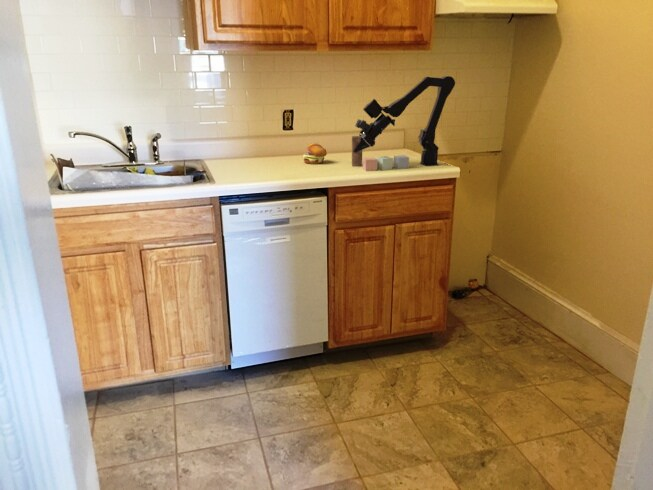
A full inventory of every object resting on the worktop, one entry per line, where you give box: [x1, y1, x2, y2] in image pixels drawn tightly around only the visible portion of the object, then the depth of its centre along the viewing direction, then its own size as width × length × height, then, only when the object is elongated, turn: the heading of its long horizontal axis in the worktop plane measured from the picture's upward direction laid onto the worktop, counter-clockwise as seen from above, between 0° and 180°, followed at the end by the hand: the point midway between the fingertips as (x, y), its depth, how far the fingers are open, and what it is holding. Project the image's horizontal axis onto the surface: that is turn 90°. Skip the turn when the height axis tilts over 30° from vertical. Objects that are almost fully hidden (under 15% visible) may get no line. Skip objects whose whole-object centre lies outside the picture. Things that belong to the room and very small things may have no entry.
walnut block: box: [351, 135, 363, 167], centre depth 248 cm, size 4×4×13 cm
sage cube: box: [376, 155, 394, 171], centre depth 242 cm, size 5×5×5 cm
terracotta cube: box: [362, 156, 378, 172], centre depth 240 cm, size 5×5×5 cm
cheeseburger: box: [302, 142, 327, 165], centre depth 257 cm, size 10×11×10 cm
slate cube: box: [393, 154, 410, 170], centre depth 244 cm, size 5×5×5 cm
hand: (353, 150), depth 248 cm, fingers closed on walnut block, 4 cm apart
